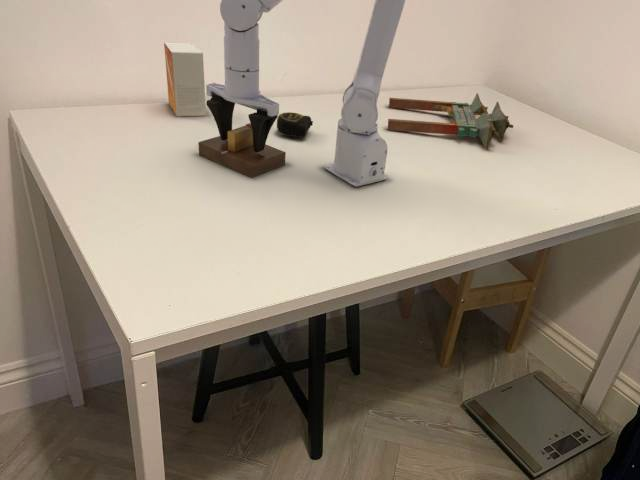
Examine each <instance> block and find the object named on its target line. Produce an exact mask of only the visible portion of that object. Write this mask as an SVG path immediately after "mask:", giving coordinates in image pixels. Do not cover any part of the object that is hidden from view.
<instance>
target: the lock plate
mask: <svg viewBox="0 0 640 480" xmlns="http://www.w3.org/2000/svg"><path fill="white" fill-rule="evenodd" d="M286 153H287V152H286V151H283V150H281V149H279V148H277V147H274V146H271V145H269V144H266V143H265V147H264V150H262V151H260V152H254V149H253V145H252V146H250V147H247V148H244V149H242V150H239V151H236V152H233V151H230V150H228V139H227V140H221V137H220V135H219V136H215V137H212V138H208V139H205V140H201V141H198V156H200V157H203V158H205V159H207V160H209V161H212V162H215V163H217V164H219V165H221V166H223V167H226V168H229V169H231V170H233V171H234V172H238V173H240V174H243V175H245V176H247V177H249V178H254V177H257V176H259V175H261V174H264V173H265V174H266V173H267V172H269V171H272V170H275V169H278V168H281V167H282V166H285V165H286V157H287V155H286Z"/></svg>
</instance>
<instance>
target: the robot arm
mask: <svg viewBox="0 0 640 480" xmlns="http://www.w3.org/2000/svg"><path fill="white" fill-rule="evenodd" d="M282 2H283V0H220V4H219V6H220V7H219V12H220V16H221V18H222V20H223V22H224V24H223V25H224V26H223V30H224V36H223V59H224V60H223V61H224V62H223V63H224V84H219V83H216V82H211V83H207V84H206V85H205V93H206V96H207V97H211V98H210V99H207V100H205V103H206V107H207V108H208V110H209V111H210V112H211V115H212V116H213V119H214V121H215V124H216V128H217V130H218V134H219V136H220V137H221V140H227V139H228V131H230V130H233V117H234V111H235V106H236V105H240V106H243V107H245V108H249V109H252V110H255V111H256V112H252V113H249V114H248V117H247V118H248V119H249V123H251V127H252V133H253V149H254V152H260V151H262V150H264V147H265V144H266V143H267V140H268V137H269V134H270V131H271V129H272V128H273V125H274V124H275V122H276V121H277V118H278V116H279V115H280V103H279V102H276V101H274V100H271V99H270V98H268V97H267V96H264V95H263V94H261V90H260V39H259V31H260V29H259V27H260V26H259V25H260V24H259V23H258V22H259V21H260V20H261V18H262V16H263V14H264V13H270V12H271V11H272V10H273V9H274V8H275V7H276V6H278V5H279V4H280V3H282ZM405 4H406V0H375V1H374V5H373V8H372V12H371V15H370V19H369V23H368V26H367V30H366V34H365V37H364V41H363V45H362V49H361V51H360V52H361V53H360V56H359V59H358V63H357V66H356V69H355V72H354V75H353V78H352V81H351V83H350V84H349V85H348V86H347V88H345V90H344V92H343V95H342V107H341V110H340V111H341V112H340V116H341V118H340V119H338V121H337V130H336V139H335V151H334V160H333V161H334V163H329V164H325V165H324V166H323V169H325V170H326V171H328V172H330V173H331V174H333V175H335V176H336V177H337V178H339V179H340V180H343V181H345V182H346V183H348V184H349V185H351V186H353V187H354V188H355V187H356V188H357V187H361V186H366V185H369V184H373V183H377V182H381V181H385V180H387V176H386V175H385V170H386V164H387V157H388V143H387V141H386V140H385V139H384V138H383V137H382V136H381V134H380V133H379V131H378V128H379V126H378V123H377V121H378V117H379V111H378V99H379V96H380V91H381V86H382V80H383V77H384V73H385V69H386V66H387V64H388V60H389V57H390V53H391V50H392V46H393V43H394V39H395V37H396V33H397V30H398V27H399V23H400V20H401V17H402V13H403V10H404V7H405Z"/></svg>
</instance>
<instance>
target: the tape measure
mask: <svg viewBox="0 0 640 480" xmlns="http://www.w3.org/2000/svg"><path fill="white" fill-rule="evenodd" d="M313 123H314V120H312V118H311V116H309V115H303V114H300V113H297V112H292V111H291V112H290V111H289V112H282V113H279V115H278V117H277V119H276V129H277V131H278V133H280V134H282V135H284V136H288V137H299V138H300V137H301V138H302V137H303V138H304V137H305V136H306V134H307V132H308V131H309V130H310V128H311V127H312V126H313Z"/></svg>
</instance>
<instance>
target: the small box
mask: <svg viewBox="0 0 640 480" xmlns="http://www.w3.org/2000/svg"><path fill="white" fill-rule="evenodd" d="M163 46H164V58H165V73H166V85H167V97H168V98H167V99H168V105H169V106H170V108H171V109H172V110H173V113H174V114H175V116H176V117H201V116H202V117H203V116H204V117H205V116H207V109H206V108H207V105H206V85H205V70H204V69H205V68H204V53H203V51H202V50H201V48H199V47H198V46H197V45H196V44H195V42H172V41H169V42H167V41H165V42H163Z"/></svg>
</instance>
